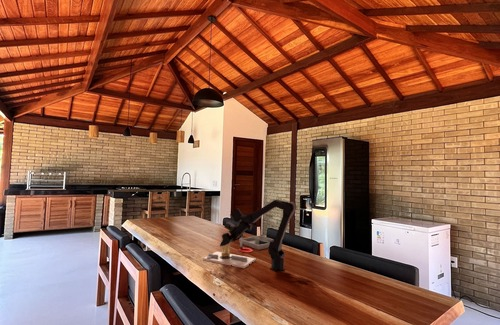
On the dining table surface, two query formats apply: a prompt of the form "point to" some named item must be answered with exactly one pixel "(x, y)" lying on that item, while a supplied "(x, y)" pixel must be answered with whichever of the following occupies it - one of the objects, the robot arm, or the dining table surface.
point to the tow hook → (244, 248)
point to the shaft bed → (230, 259)
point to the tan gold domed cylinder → (226, 251)
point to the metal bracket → (259, 239)
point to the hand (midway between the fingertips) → (224, 244)
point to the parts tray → (251, 243)
